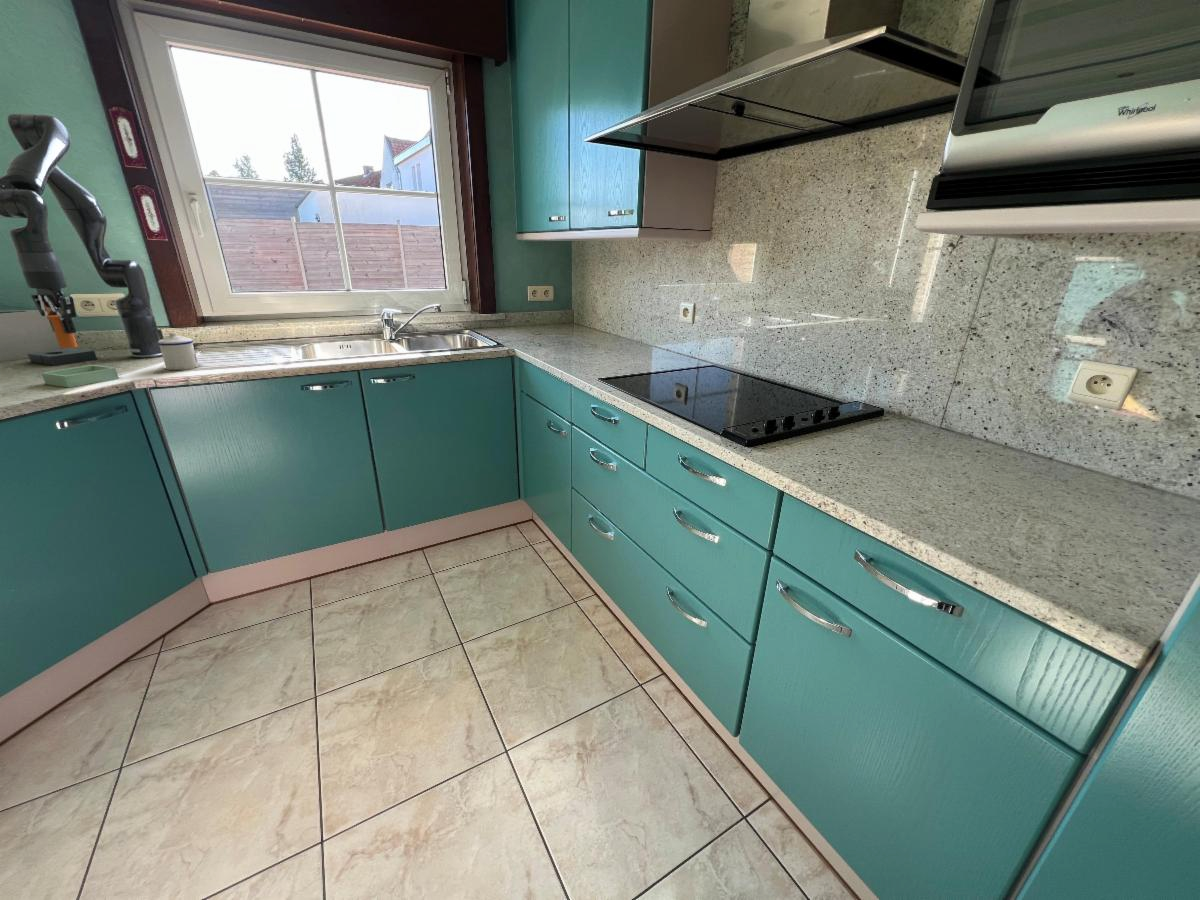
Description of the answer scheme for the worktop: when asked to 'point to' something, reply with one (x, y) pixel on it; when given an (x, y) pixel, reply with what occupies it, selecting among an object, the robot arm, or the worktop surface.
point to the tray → (80, 375)
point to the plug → (62, 333)
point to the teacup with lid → (178, 352)
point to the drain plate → (62, 356)
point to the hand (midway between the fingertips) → (64, 332)
